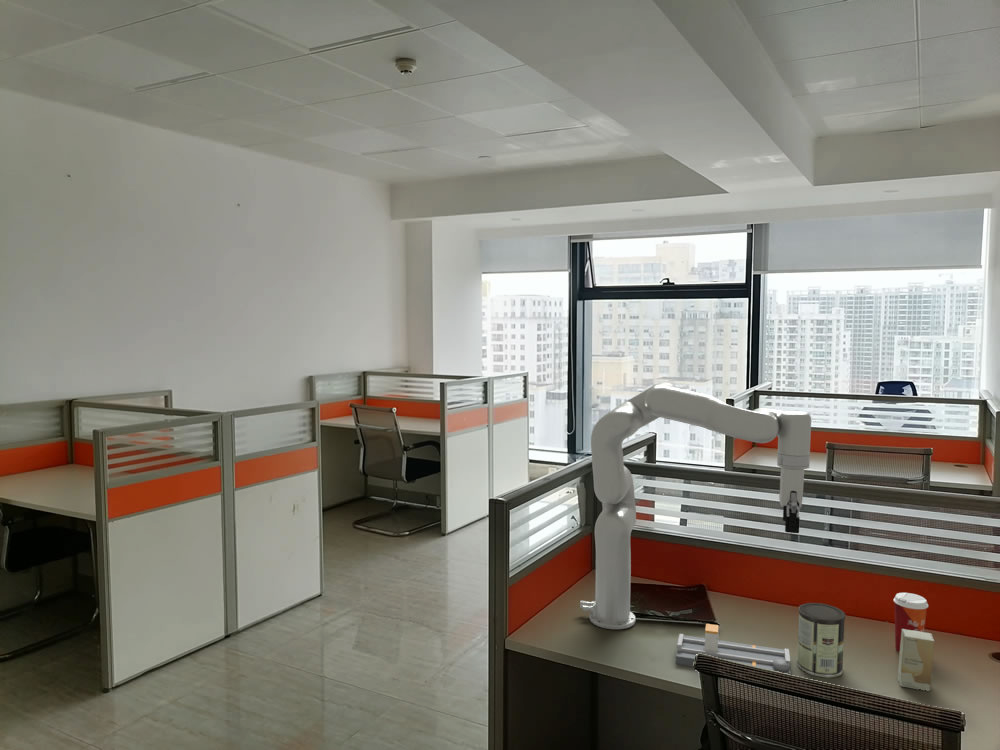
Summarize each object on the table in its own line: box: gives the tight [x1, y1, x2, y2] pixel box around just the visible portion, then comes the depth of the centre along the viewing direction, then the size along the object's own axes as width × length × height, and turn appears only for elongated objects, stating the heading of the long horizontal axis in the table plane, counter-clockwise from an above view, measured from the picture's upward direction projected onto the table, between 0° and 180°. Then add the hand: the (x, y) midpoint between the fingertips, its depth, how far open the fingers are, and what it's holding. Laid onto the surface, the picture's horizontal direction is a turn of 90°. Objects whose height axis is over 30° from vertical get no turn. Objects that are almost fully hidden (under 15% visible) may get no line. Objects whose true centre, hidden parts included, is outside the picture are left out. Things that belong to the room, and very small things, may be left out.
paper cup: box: [893, 592, 929, 654], centre depth 185 cm, size 8×8×14 cm
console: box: [675, 633, 791, 675], centre depth 180 cm, size 26×12×4 cm, turn 71°
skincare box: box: [897, 629, 935, 692], centre depth 169 cm, size 6×4×12 cm
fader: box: [704, 623, 720, 653], centre depth 182 cm, size 3×4×6 cm
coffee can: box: [796, 602, 846, 679], centre depth 177 cm, size 10×10×14 cm
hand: (790, 526), depth 186 cm, fingers open, 9 cm apart
